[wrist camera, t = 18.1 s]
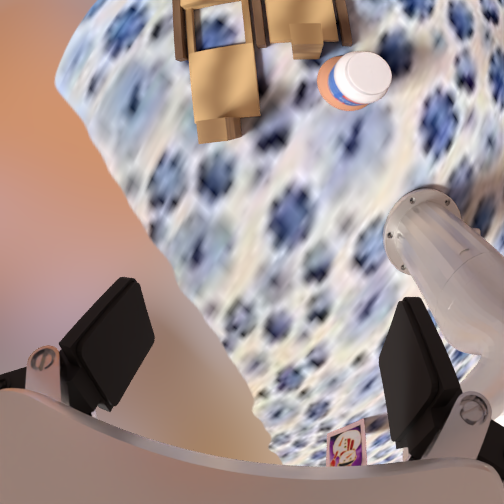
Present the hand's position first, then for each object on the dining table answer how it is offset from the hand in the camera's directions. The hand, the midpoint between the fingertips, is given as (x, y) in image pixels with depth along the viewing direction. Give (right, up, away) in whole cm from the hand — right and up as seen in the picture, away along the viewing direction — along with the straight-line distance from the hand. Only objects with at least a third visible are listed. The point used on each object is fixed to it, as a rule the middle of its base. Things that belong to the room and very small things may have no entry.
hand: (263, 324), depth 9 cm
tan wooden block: (+5, +29, +15) cm, 33 cm away
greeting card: (+25, -42, +48) cm, 68 cm away
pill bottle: (+11, +22, +17) cm, 30 cm away
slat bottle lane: (-4, +26, +18) cm, 32 cm away
